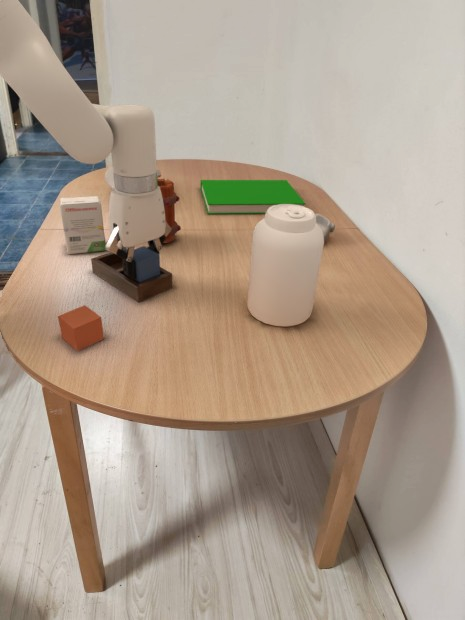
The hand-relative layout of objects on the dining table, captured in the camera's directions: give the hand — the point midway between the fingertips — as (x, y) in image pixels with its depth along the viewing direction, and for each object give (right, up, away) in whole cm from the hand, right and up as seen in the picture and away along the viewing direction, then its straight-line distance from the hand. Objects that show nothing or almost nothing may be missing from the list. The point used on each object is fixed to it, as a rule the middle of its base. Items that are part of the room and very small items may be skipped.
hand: (142, 271), depth 90 cm
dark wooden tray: (-3, -2, +4) cm, 5 cm away
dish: (+35, +11, +27) cm, 45 cm away
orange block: (-7, -13, -13) cm, 20 cm away
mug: (-1, +8, +20) cm, 21 cm away
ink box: (-16, +6, +15) cm, 23 cm away
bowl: (-12, +27, +48) cm, 56 cm away
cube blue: (0, -1, 0) cm, 1 cm away
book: (+23, +26, +49) cm, 60 cm away
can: (+27, -8, -3) cm, 28 cm away
